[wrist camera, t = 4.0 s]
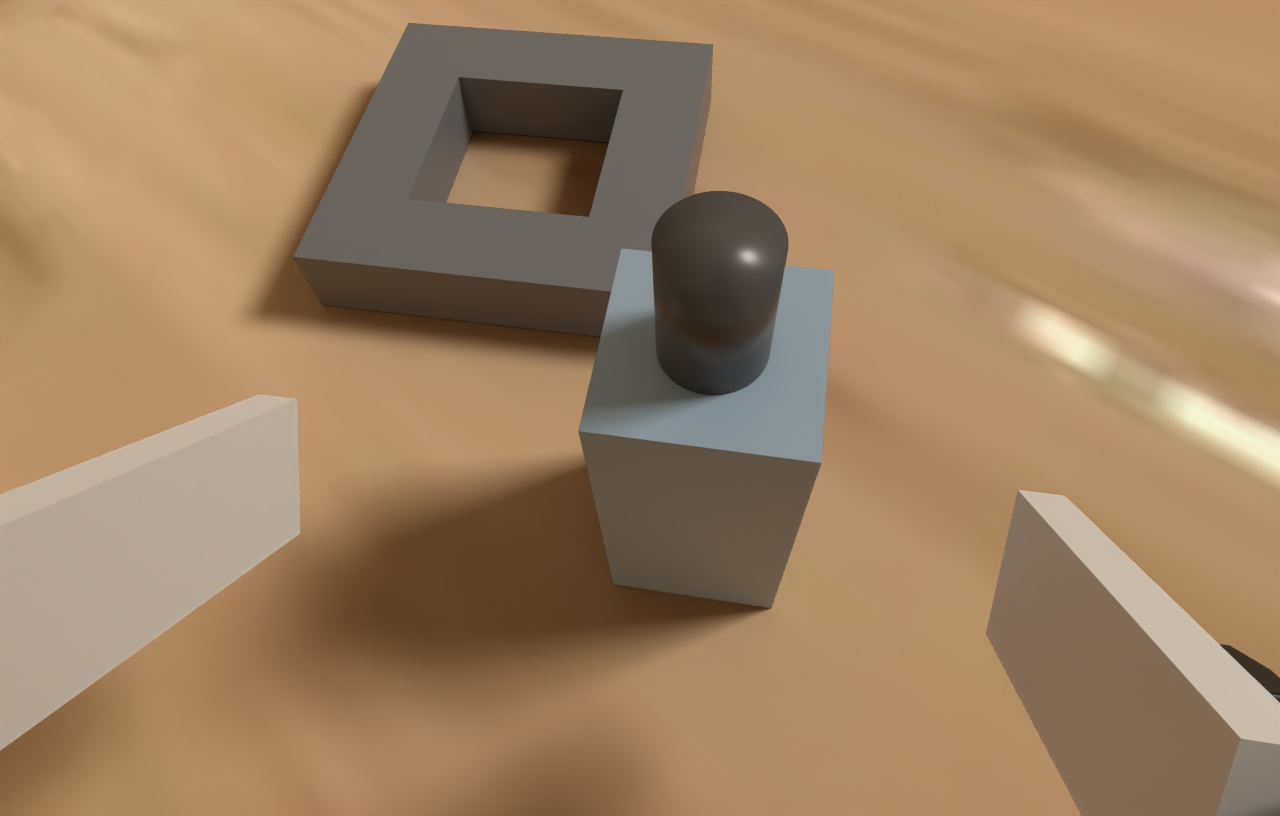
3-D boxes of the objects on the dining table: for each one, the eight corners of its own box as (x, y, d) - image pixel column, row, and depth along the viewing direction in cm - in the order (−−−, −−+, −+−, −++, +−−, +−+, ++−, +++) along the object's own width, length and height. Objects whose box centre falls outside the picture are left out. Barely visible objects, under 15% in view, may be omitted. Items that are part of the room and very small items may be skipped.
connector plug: (784, 465, 24) (862, 156, 14) (771, 608, 22) (853, 371, 12) (639, 445, 25) (611, 135, 14) (613, 583, 23) (556, 336, 12)
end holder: (710, 100, 32) (713, 44, 30) (664, 344, 27) (663, 297, 24) (425, 77, 34) (408, 23, 32) (322, 304, 28) (292, 256, 26)
